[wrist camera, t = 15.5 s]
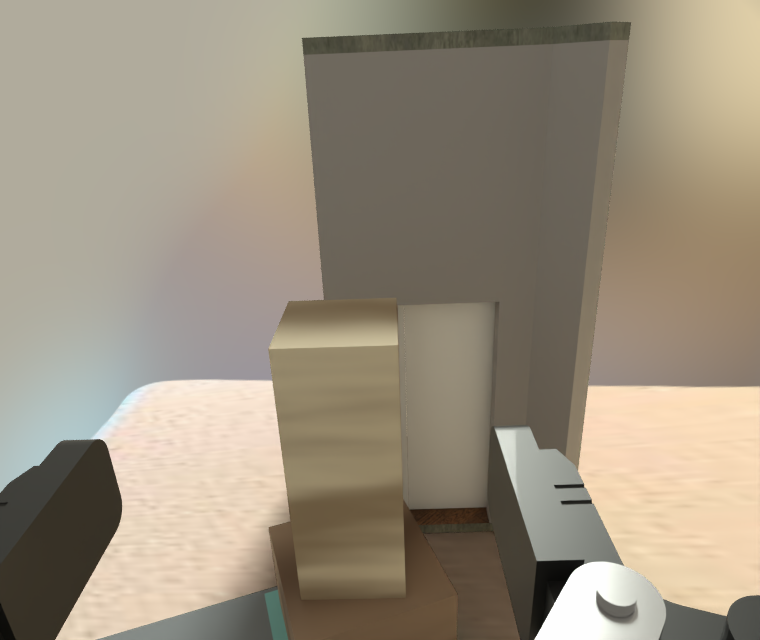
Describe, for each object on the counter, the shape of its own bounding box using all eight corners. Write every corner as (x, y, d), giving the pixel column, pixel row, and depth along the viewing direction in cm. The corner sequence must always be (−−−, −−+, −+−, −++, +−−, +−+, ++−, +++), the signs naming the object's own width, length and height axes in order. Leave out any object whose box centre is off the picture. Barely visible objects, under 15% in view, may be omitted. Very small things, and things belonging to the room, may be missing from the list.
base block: (456, 673, 27) (457, 594, 25) (307, 728, 25) (296, 647, 23) (402, 562, 33) (399, 492, 31) (279, 599, 31) (268, 527, 29)
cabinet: (569, 539, 35) (631, 22, 24) (466, 638, 29) (484, 16, 18) (350, 409, 50) (326, 49, 38) (252, 459, 44) (189, 51, 33)
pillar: (405, 598, 25) (398, 344, 20) (301, 599, 25) (268, 348, 20) (403, 522, 29) (396, 297, 24) (313, 524, 29) (288, 301, 24)
